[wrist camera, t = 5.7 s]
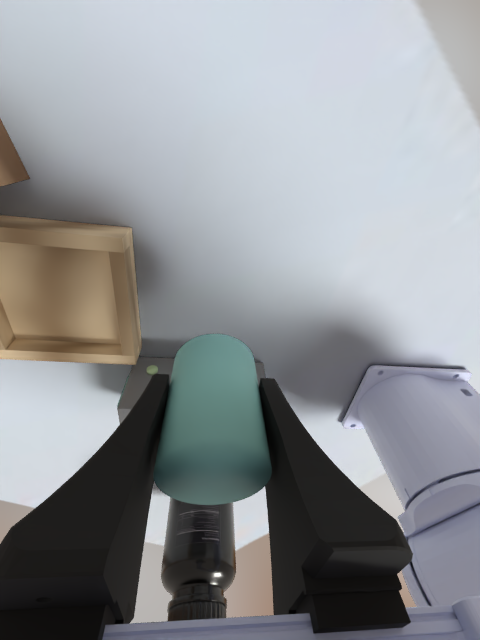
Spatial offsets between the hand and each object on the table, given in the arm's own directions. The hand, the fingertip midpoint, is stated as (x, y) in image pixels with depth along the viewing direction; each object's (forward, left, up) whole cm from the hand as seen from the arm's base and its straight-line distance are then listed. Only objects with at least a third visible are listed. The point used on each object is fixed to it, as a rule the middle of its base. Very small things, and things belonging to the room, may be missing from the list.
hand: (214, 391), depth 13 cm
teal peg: (0, 0, -2) cm, 2 cm away
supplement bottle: (0, +24, -9) cm, 25 cm away
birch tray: (+10, 0, -8) cm, 13 cm away
